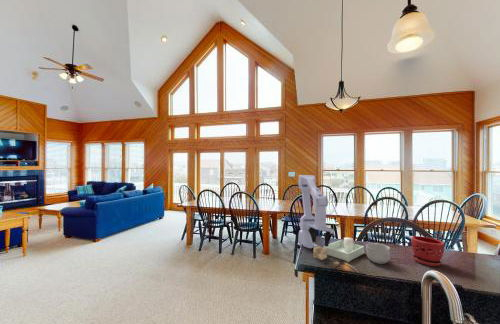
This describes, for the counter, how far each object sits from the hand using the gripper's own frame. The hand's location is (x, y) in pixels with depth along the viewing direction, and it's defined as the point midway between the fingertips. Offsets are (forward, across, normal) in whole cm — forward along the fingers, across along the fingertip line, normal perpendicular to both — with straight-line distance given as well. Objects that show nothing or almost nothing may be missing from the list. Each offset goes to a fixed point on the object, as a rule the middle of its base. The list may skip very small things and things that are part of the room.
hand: (320, 244), depth 116 cm
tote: (+7, +5, +16) cm, 18 cm away
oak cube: (+7, 0, 0) cm, 7 cm away
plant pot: (+7, +38, +39) cm, 55 cm away
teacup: (+7, +21, +21) cm, 31 cm away
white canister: (+6, +5, +21) cm, 23 cm away
